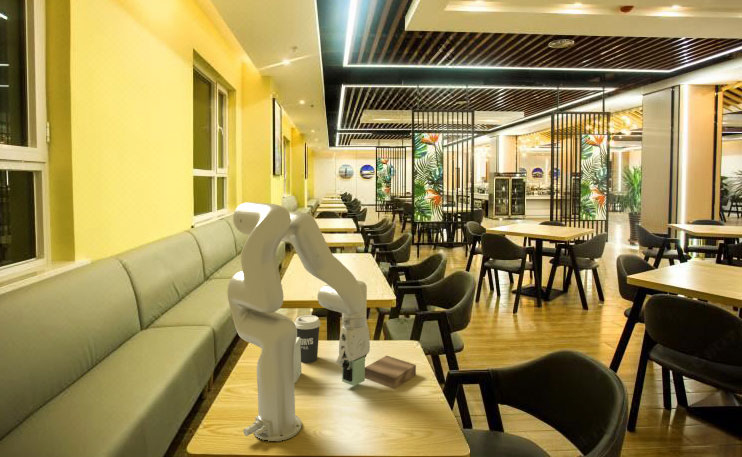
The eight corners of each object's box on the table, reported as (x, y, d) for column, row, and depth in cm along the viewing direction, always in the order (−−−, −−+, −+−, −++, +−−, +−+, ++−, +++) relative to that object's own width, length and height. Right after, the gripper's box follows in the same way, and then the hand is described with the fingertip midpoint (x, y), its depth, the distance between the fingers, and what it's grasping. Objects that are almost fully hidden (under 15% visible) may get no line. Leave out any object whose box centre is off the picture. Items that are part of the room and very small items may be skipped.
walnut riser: (394, 390, 149) (394, 378, 148) (364, 379, 156) (364, 367, 155) (415, 376, 158) (415, 364, 157) (386, 366, 165) (386, 355, 165)
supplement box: (302, 372, 160) (301, 336, 158) (296, 383, 152) (295, 345, 150) (280, 371, 160) (279, 336, 158) (273, 382, 153) (272, 344, 151)
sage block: (354, 386, 146) (354, 361, 145) (342, 381, 149) (342, 357, 148) (364, 380, 150) (365, 356, 149) (352, 376, 153) (352, 352, 152)
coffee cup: (292, 355, 173) (291, 315, 171) (318, 352, 176) (317, 313, 174) (296, 366, 164) (295, 324, 162) (324, 362, 167) (323, 321, 165)
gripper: (345, 330, 138) (344, 390, 141) (380, 316, 151) (379, 371, 154) (326, 325, 143) (326, 383, 145) (362, 312, 156) (361, 365, 158)
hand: (353, 376), depth 149 cm, fingers closed on sage block, 5 cm apart
